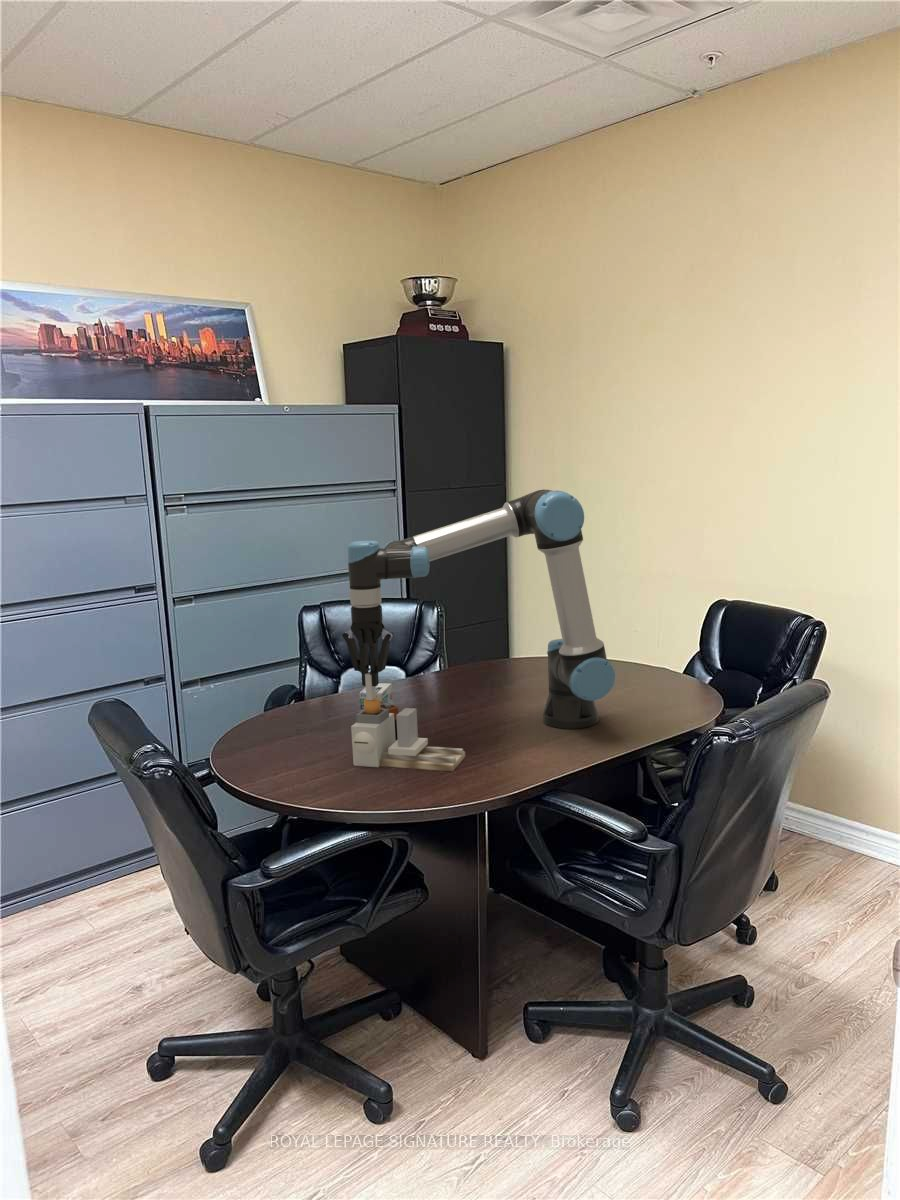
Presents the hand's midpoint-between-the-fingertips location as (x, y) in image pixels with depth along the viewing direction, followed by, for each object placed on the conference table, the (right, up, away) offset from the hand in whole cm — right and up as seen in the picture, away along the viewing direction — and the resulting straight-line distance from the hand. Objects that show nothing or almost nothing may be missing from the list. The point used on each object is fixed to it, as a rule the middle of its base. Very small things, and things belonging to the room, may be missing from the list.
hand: (371, 698), depth 226 cm
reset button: (0, -3, +1) cm, 3 cm away
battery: (+3, -13, +18) cm, 22 cm away
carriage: (+9, -12, -1) cm, 15 cm away
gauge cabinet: (+1, -15, +3) cm, 15 cm away
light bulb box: (-1, -11, +30) cm, 32 cm away
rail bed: (+13, -15, -1) cm, 20 cm away
